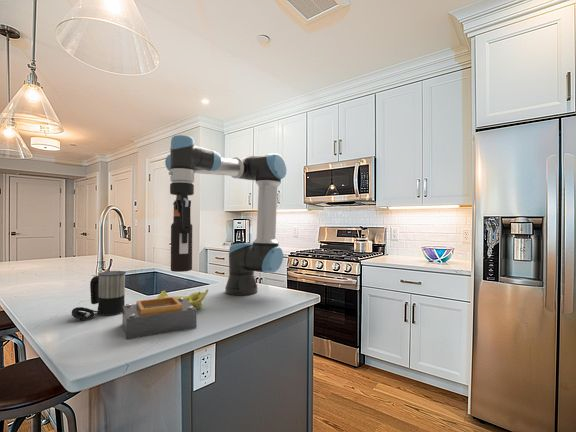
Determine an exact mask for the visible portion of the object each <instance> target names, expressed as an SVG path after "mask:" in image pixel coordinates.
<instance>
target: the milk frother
mask: <svg viewBox="0 0 576 432" xmlns="http://www.w3.org/2000/svg"><path fill="white" fill-rule="evenodd" d="M126 273H127V271H124V270H108V271H101V272H98V273H97V275H95V276H93V277H92V278H91V280H90V282H89V289H90V290H89V291H90V304H92V305H98V306H97V310H93V309H90V308H87V307H83V306H82V307H81V306H79V307H74V308H73V309H72V311H71V316H72V317H74V318H75V319H79V320H80V321H83V320H90V319H93V318H95V316H96V315H95V313H96V314H97V316H115V315H116V316H117V315H119V314H122V310H123V306H126V304H125V294H126V293H125V291H126V287H125V286H126ZM87 313H88V315H87ZM89 314H90V315H89Z"/></svg>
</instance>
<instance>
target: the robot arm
mask: <svg viewBox="0 0 576 432" xmlns="http://www.w3.org/2000/svg"><path fill="white" fill-rule="evenodd" d="M169 150H170V154H168V155H167V156H166V158H165V161H164V164H165V168H166V170H167V171H168V175H169V176H170V180H169V181H170V184H169V194H170V195H172V196H176V197H175V200H174V202H173V204H172V205H173V211H174V210H178V213H180V216H179V217H180V231H178V233H180V240H179V254H187V253H188V233H189V231H191V224H192V223H191V207H192V206H191V205H192V204H191V203H192V200H189V196H194V193H195V185H194V182H195V174H199V175H200V174H203V175H213V176H214V175H216V176H227V177H229V176H230V177H231V178H233V179H239V180H240V179H241V180H247V181H255V183H256V185H257V186H258V194H257V195H258V196H257V217H256V219H257V220H256V239H254V240H253V242H243V243H242V242H241V243H236V244H235V243H234V244H231V245H230V246H229V250H228V251H229V252H228V278H227V281H226V285H225V287H224V289H225V290H224V291H225V294H227V295H231V296H247V295H252V294H256V293H258V284H257V280H256V278H255V272H258V273H259V272H260V273H265V274H266V273H270V274H271V273H272V274H273V273H276V272H278V270H279V269H280V268H281V266H282V264H283V260H284V252H283V249H282V248H281V247H279V242H278V241H277V239H276V230H277V229H276V228H277V207H278V206H277V203H278V202H277V201H278V187H279V186H280V185H281V183H282V181H281V180H282V179H284V178H285V177H286V175H287V164H286V161H285V160H284V157H282V156H281V154H280V153H276V152H275V153H271V152H270V153H265V154H258V155H249V156H244V157H233V158H226V157H222V156H221V154H220V153H219V152H218V151H215V150H214V149H209V148H205V147H202V146H199V145H198V146H197V145H196V143H195V138H193V137H192V136H190V135H183V134H178V135H174V136H172V137H171V140H170V149H169ZM174 217H175V216H174V215H173V217H172V219H173V221H172V223H173V222H174V221H175V218H174Z"/></svg>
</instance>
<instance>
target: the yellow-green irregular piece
mask: <svg viewBox="0 0 576 432" xmlns="http://www.w3.org/2000/svg"><path fill="white" fill-rule="evenodd" d="M208 292H209V289H208V288H206V289H205V292H201V291H198V292H194V293H191V294H189V295H185V296H184V295H183V296H182V295H181V296H174V297H175V298H176V299H178V298H185V299H186V300H187V301H188V302H189V303H190V304H192V305H193V306H194V307H195V308H196V309H197V310H199V309H201V307H202V306H203V304H202V302H203V300H204V299H205V298H206V295H207V294H208ZM167 297H169V295H168V293H167V292H166V290H162V291H161V292H160V293H159V295H158V296H157V297H155V299H159V298H167ZM198 308H199V309H198Z"/></svg>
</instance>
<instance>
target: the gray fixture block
mask: <svg viewBox="0 0 576 432" xmlns="http://www.w3.org/2000/svg"><path fill="white" fill-rule="evenodd" d="M175 297H176V296H168V297H167V298H159V299H156V298H152V299H143V300H136V303H135V304H132V303H127V304H125V306H123V310H122V313H121V314H122V316H121V317H122V320H121V321H122V323H121V324H122V329H123V332H124V336H125V340H126V341H127V340H133V339H139V338H146V337H150V336H157V335H162V334H163V335H164V334H168V333H169V334H170V333H174V332H179V331H180V332H181V331H186V330H191V329H197V328H198V327H197V319H198V318H197V310H198V309H196V308H195V307H194V306H193V305H192V304H190V303H189V302H188V301H187V300H186V299H185V298H178V299H176V298H175Z"/></svg>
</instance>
